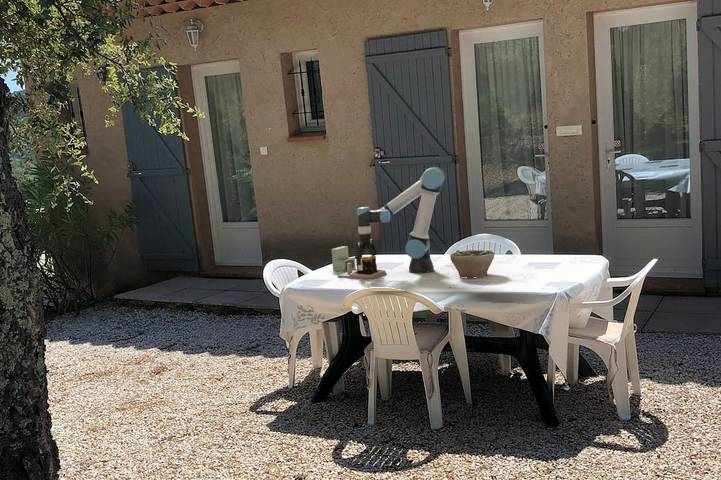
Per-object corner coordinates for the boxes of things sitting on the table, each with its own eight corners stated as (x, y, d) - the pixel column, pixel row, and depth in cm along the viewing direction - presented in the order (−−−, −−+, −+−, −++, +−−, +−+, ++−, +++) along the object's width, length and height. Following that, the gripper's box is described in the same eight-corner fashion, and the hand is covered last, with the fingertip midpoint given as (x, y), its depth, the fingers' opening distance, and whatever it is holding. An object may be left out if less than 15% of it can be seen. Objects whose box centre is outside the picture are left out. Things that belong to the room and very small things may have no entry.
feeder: (356, 268, 500) (354, 246, 498) (344, 271, 490) (343, 249, 488) (344, 267, 505) (342, 246, 503) (333, 271, 496) (331, 249, 494)
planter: (446, 280, 444) (445, 254, 442) (456, 271, 467) (455, 246, 465) (491, 280, 435) (490, 253, 433) (499, 271, 458) (498, 246, 456)
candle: (377, 272, 474) (376, 256, 473) (373, 275, 464) (372, 259, 463) (361, 272, 477) (360, 256, 475) (356, 276, 467) (355, 259, 466)
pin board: (386, 274, 472) (385, 262, 471) (371, 279, 459) (370, 267, 458) (353, 272, 487) (352, 260, 486) (337, 277, 474) (336, 265, 473)
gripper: (371, 229, 479) (373, 263, 482) (347, 236, 459) (349, 271, 462) (381, 230, 475) (383, 264, 478) (357, 236, 455) (360, 272, 458)
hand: (367, 268), depth 470 cm, fingers open, 13 cm apart
